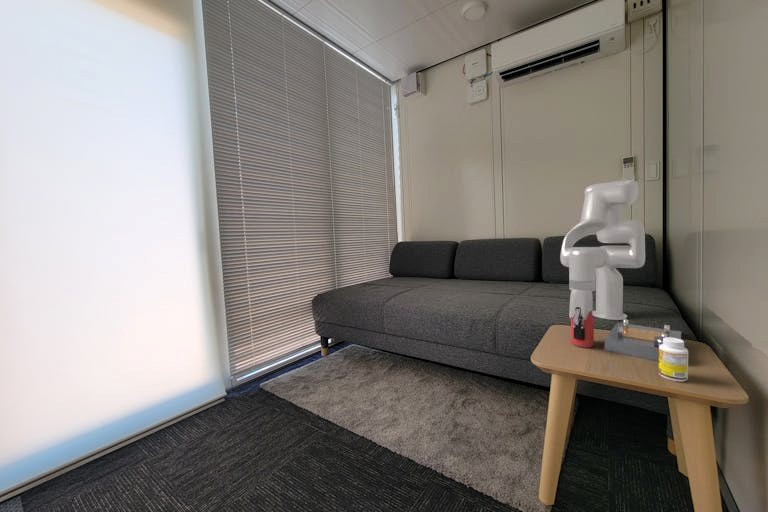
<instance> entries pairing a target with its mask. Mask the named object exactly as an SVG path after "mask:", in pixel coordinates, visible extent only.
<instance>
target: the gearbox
mask: <svg viewBox="0 0 768 512" xmlns="http://www.w3.org/2000/svg"><path fill="white" fill-rule="evenodd" d="M622 321H623V322H618V321H617V322H616V323H615V324H614V326H613V327H612V329H611V330H610V331H609V333H608V334H607V335H606V336H605V337H604V351H607V352H612V353H616V354H621V355H626V356H631V357H636V358H640V359H646V360H651V361H654V362H655V361H656V362H659V346H660V345H661V344H663V338H665V337H671V338H677V339H681V340H682V331H680V330H671V326H670V324H669V325H668V324H664V325H663V328H658V327H651V326H646V325H644V326H643V325H639V324H638V325H637V324H631V323H630V324H629V319H623V320H622Z"/></svg>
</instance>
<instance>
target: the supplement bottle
mask: <svg viewBox="0 0 768 512" xmlns="http://www.w3.org/2000/svg"><path fill="white" fill-rule="evenodd" d="M658 374H659V375H660V376H661V377H662V378H664V379H666V380H669V381H673V382H687V381H688V380H689V350H688V349H687V347H685V341H684V340H683V339H682V338H681V339H677V338H671V337H665V338H663V344H661V345H660V346H659V361H658Z"/></svg>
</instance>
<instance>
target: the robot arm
mask: <svg viewBox="0 0 768 512" xmlns="http://www.w3.org/2000/svg"><path fill="white" fill-rule="evenodd" d="M583 193H584V201H583V206H582V210H581V216H580V217H581V218H580V222H578V223H577V224H576V225H574V226H573V227H572V228H571V229H570V230H569V231H568V232H567V233H566V234H565V236H564V238H563V240H562V244H561V249H560V255H559V259H560V263H561V264H562V266H563V267H566V268H568V272H569V273H568V275H569V276H568V277H569V278H568V279H569V280H568V281H569V283H568V286H569V287H568V288H569V290H570V291H571V292H570V297H569V314H568V317H569V318H570V320H571V319H572V318H573V317H574V339H579V340H585V328H584V321H585V320H587V318H588V315H589V312H591V311H592V314H593V317H595V318H599V319H601V320H602V319H603V320H610V321H611V320H612V321H623V319H626V320H628V315H627V314H626V313H624V311H623V308H624V307H623V303H624V302H623V301H624V300H623V299H624V298H623V297H624V291H623V290H624V279H623V277H624V276H623V275H622V274H621V272H620V271H619V270H618V269H619V268H620V269H639V268H640V269H641V268H642V267H643V266H644V265H645V263H646V236H645V234H646V233H645V225H644V224H643V222H642V221H641V220H637V219H629V220H622V218H621V208H627V207H631V205H633V203H634V202H635V201H636V199H637V198H638V195H639V184H638V182H637V181H636V180H635V179H625V180H618V181H616V180H615V181H609V182H602V183H601V182H600V183H595V184H591V185H589V186H587V187H586V188H585V189H584V192H583ZM593 234H596V239H597V241H598V242H599V243H602V244H628V245H600V246H574V245H575V244H576V243H577V242H578V241H579V240H581V239H583V238H586V237H588V236H589V235H593ZM593 292H595V310H593V307H594V301H593V300H594V298H593ZM574 314H575V315H574ZM579 317H583V319H579ZM579 321H582V324H581V322H579Z"/></svg>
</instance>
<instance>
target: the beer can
mask: <svg viewBox="0 0 768 512" xmlns="http://www.w3.org/2000/svg"><path fill="white" fill-rule="evenodd" d="M592 312H593V311H591V312H589V315H588V318H587V320H585V321H584V328H585V340H579V339H574V317H573V318H572V319H571V318H570V342H571V344H572V345H573V346H575V347H578V346H579V348H586V349H588V348H592V347H593V346H594V345H595V343H594V342H595V318H594V317H595V316H593V314H592ZM574 315H575V314H574ZM579 319H583V317H579ZM579 322H581V324H582V321H579Z"/></svg>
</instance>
